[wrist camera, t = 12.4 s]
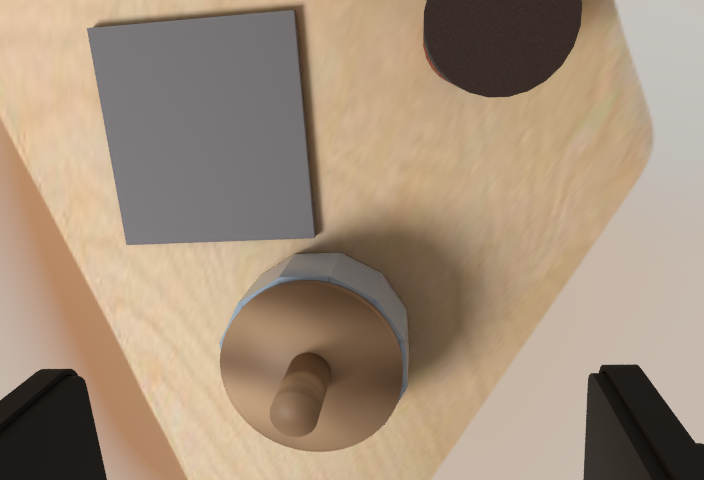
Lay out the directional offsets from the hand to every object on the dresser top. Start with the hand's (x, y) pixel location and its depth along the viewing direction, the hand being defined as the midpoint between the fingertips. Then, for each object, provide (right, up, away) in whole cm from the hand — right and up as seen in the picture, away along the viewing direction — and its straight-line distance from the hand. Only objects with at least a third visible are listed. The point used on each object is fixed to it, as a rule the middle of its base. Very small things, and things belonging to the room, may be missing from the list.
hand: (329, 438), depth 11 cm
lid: (-2, -5, +28) cm, 29 cm away
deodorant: (+8, +16, +26) cm, 32 cm away
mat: (-10, +11, +30) cm, 33 cm away
